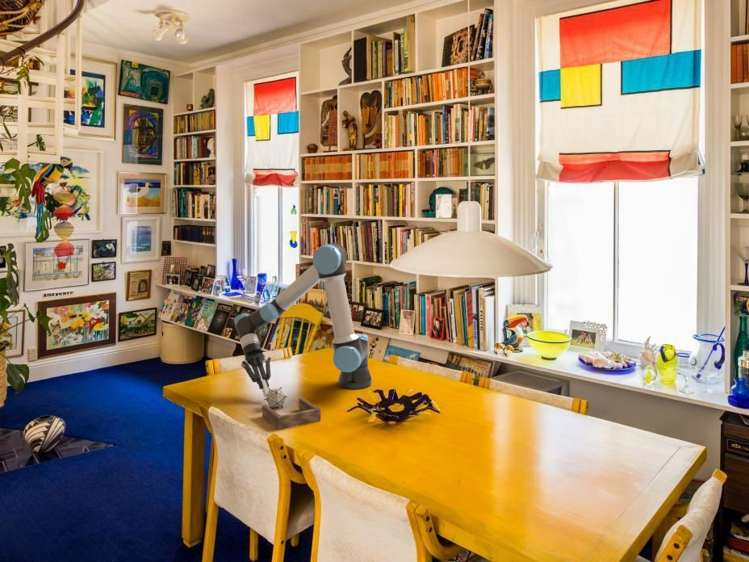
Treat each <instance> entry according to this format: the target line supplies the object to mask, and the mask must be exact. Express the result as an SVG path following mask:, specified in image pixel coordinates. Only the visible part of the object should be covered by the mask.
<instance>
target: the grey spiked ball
mask: <svg viewBox="0 0 749 562" xmlns="http://www.w3.org/2000/svg"><path fill="white" fill-rule="evenodd" d="M268 390H269V392H268V395H267V397H265V398H263V399H264V400H265V401H266V402H267V404H268V405H269V406H268V407H270V408H271V409H272V408H279V407H280V408H282V409H284V406H283V405H284V402H285V400H286V398H288V396H287V395H285V394H284V392H283V390H282V386H280V387H279V388H270V387H268Z"/></svg>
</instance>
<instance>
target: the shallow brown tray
mask: <svg viewBox="0 0 749 562" xmlns="http://www.w3.org/2000/svg"><path fill="white" fill-rule="evenodd" d="M261 408H262V409H261V411H262V413H261V416H262V418H263V419H265V420H266V421H267V422H269V424H271V426H273V427H275V428H276V429H277V430H284V429H288V428H289V429H290V428H293V427H292V426H294V427H297V426H296V425H298V426H302V425H301V424H303V425H307V424H306V423H308V424H311V422H312V423H316V421H317V422H320V420H321V419H322V417H321V415H322V411H321V410H322V409H321V408H319V407H318V406H316V405H314V403H311V402H310V401H309V400H307V399H305V398H303V397H300V398H298V410H299V409H300V410H299V411H297V412H292V413H287V414H282V415H281V414H279V413H278V411H277V412H276V411H275V410H274V409H272V408H270V406H268V405H267V404H263V405H262V406H261ZM321 421H322V420H321Z"/></svg>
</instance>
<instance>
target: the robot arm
mask: <svg viewBox="0 0 749 562" xmlns="http://www.w3.org/2000/svg"><path fill="white" fill-rule="evenodd" d="M347 261H348V253H347V249H346V248H345V247H344V246H343V245H341V244H340V243H337V242H336V243H335V242H331V243H327V244H324V245H321V246H320V247H318V248H317V249H316V250H315V251H314V253H313V255H312V265H311V266H310V267H309V268H307V269H306V270H305V271H304V272H302V274H300V275H299V277H297V278H296V279H295V280H294V281H293V282H292V283H291V284H289V285H288V286H287V287H286V288H284V290H283V291H281V292H280V293H279V294H278V295H277V296H276V297H274V299H272V300H270V302H269V303H266V304H264V305H262V306H261V307H259V308H258V309H256V310H255V311H254V312H252V313H251V314H250V313H243V312H242V313H241V314H238V315H237V316H235V318H234V319H233V321H234V327H235V330H236V332H237V335H238V338H239V342H240V345H241V348H242V352H243V355H244V358H245V359H244V360H243V361H242V362H241V364H240V365H241V367H242V368H243V369H244V370H245V372H246V373H247V375H248V377H249V379H250V380H251V382H252V383H256V385H258V389H259V390H262V391H261V392H262V393H263V397H264V398H266V397H267V395H268V392H269V389H268V388H270V385H269V381H270V379H271V377H272V374H271V363H270V362H271V360H272V358H271V357H269V356H268V357H266V355H265V354H264V353H263V350H262V345H261V344H260V341H259V338H258V334H257V331H259V330H260V329H262V328H263V327H265V326H267V325H268V324H270V323H271V322H274V321H275V320H277V319H279V318H280V317H282V316H283V314H284V313H285V312H287V310H288V309H290V308H291V307H292V306H293V305H294V304H295V303H296V302H297V301H299V300H300V299H301V298H302V297H303V296H304V295H306V294H307V293H308V292H309V291H311V289H312V288H314V287H315V286H317V284H319V282H323V286H324V290H325V291H324V292H325V295H326V300H327V301H326V302H327V306H328V310H329V316H330V319H331V325H332V331H333V336H334V338H333V339H332V342H331V344H332V348H333V353H332V362H333V364H334V366H335V367H336V369H337V370H339V371H340V373H339V377H338V379H337V380H338V381H337V382H338V383H337V384H338V386H339V387H341V388H344V389H349V390H350V389H351V390H352V389H353V390H358V389H359V390H361V389H366V388H369V387H371V386H372V385H371V384H372V383H373V381H372V375H371V373H370V369H369V336H368V335H367V334H364V333H355V329H354V328H355V327H354V324H353V317H352V315H351V307H350V305H349V298H348V293H347V289H346V284H345V276H346V275H347V269H346V265H345V264H346V263H347ZM264 363H265V367H264Z"/></svg>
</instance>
